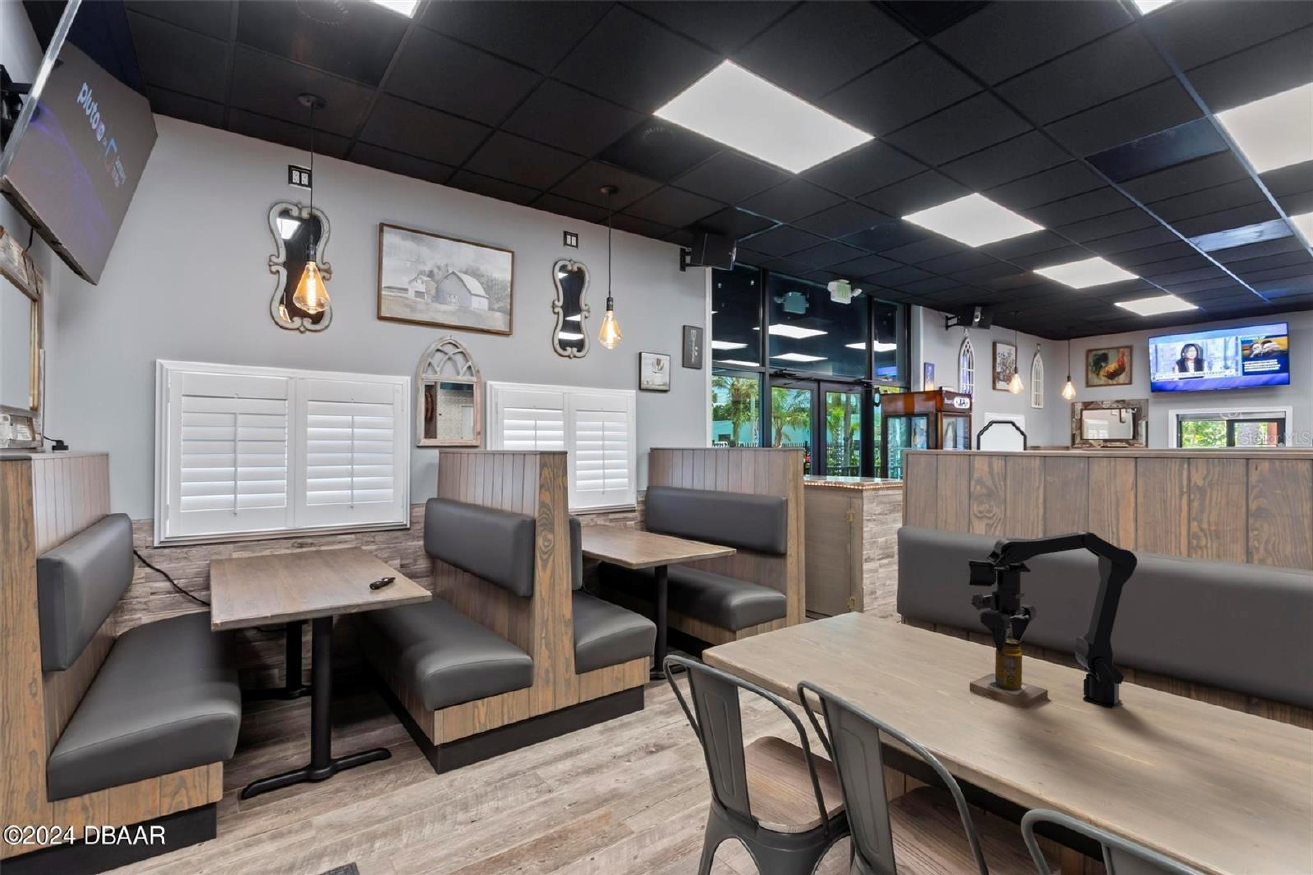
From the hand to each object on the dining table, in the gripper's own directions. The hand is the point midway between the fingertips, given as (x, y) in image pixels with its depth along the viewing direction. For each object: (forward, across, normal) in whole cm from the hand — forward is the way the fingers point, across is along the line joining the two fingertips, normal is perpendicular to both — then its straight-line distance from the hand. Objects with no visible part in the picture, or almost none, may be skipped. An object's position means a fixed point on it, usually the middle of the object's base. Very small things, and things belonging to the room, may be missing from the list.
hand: (1008, 647), depth 162 cm
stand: (+12, 0, 0) cm, 12 cm away
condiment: (+10, +1, 0) cm, 10 cm away
